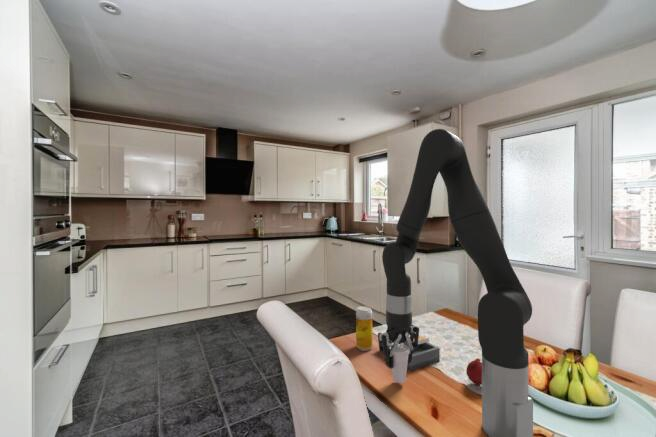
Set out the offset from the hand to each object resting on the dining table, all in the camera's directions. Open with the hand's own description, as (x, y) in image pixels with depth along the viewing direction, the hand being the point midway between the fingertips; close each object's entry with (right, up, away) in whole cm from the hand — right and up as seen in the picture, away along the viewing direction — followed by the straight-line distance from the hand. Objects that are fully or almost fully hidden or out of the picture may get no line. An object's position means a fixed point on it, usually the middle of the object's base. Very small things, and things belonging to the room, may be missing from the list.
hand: (399, 364), depth 86 cm
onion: (+23, -6, -1) cm, 24 cm away
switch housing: (+8, -6, +17) cm, 20 cm away
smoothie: (0, -5, 0) cm, 5 cm away
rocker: (+8, -1, +17) cm, 19 cm away
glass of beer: (-7, -6, +24) cm, 25 cm away
